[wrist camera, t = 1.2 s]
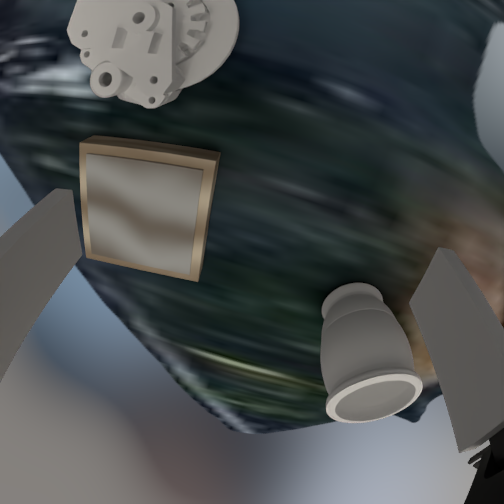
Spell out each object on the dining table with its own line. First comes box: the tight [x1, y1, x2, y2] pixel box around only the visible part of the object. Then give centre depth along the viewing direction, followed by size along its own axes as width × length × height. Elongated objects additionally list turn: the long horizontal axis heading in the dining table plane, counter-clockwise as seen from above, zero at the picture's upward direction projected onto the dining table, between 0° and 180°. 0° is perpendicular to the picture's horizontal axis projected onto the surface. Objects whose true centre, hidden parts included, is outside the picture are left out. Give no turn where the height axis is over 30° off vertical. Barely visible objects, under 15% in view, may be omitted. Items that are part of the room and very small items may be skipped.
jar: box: [321, 283, 423, 423], centre depth 33 cm, size 11×10×15 cm
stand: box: [80, 135, 221, 282], centre depth 31 cm, size 14×14×3 cm
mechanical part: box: [67, 0, 239, 108], centre depth 18 cm, size 11×12×12 cm
